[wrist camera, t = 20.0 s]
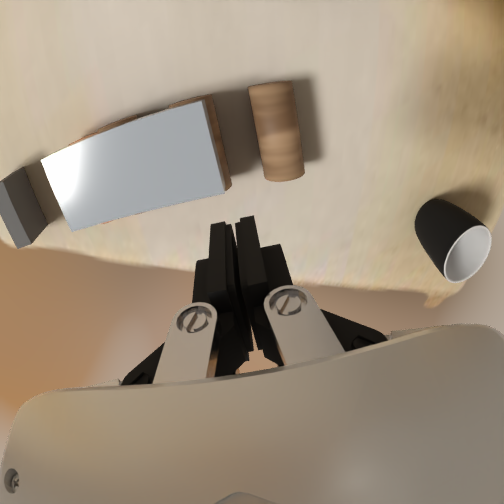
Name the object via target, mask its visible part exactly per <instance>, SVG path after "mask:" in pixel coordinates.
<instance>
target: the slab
mask: <svg viewBox="0 0 504 504" xmlns="http://www.w3.org/2000/svg"><path fill="white" fill-rule="evenodd" d="M41 162H42V164H43V167H44V170H45V172H46V175H47V177H48V180H49V182H50V185H51V187H52V189H53V192H54V194H55V196H56V199H57V201H58V203H59V206H60V208H61V210H62V212H63V214H64V217H65V219H66V221H67V223H68V225H69V227H70V229H71V231H72V232H73V231H77V230H80V229H83V228H87V227H90V226H94V225H97V224H101V223H104V222H108V221H112V220H115V219H119V218H123V217H127V216H131V215H134V214H138V213H142V212H146V211H150V210H154V209H158V208H162V207H167V206H171V205H175V204H179V203H184V202H188V201H192V200H197V199H201V198H206V197H211V196H215V195H220V194H225V186H226V185H225V181H224V177H223V173H222V169H221V165H220V161H219V157H218V152H217V148H216V144H215V140H214V136H213V132H212V128H211V124H210V120H209V116H208V112H207V108H206V104H205V100H204V99H202V100H198V101H194V102H191V103H187V104H183V105H180V106H176V107H172V108H169V109H166V110H162V111H159V112H156V113H153V114H150V115H146V116H143V117H140V118H137V119H135V120H132V121H129V122H126V123H123V124H121V125H118V126H116V127H113V128H111V129H108V130H105V131H103V132H100V133H97V134H95V135H92V136H90V137H88V138H85V139H83V140H80V141H78V142H76V143H74V144H71V145H69V146H67V147H65V148H63V149H61V150H58V151H56V152H54V153H52V154H50V155H49V156H47V157H46V158H44V159H42V160H41Z"/></svg>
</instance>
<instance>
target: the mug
mask: <svg viewBox="0 0 504 504" xmlns="http://www.w3.org/2000/svg"><path fill="white" fill-rule="evenodd" d="M415 231H416V234H417V237H418V239H419V241H420V243H421V244H422V246H423V248H424V249H425V251H426V252H427V254H428V256H429V257H430V258H431V260H432V261H433V263H434V264H435V266H436V267H437V268H438V270H439V271H440V272H441V273H442V275H443V276H444V277H445V278H446V279H447V280H448V281H449V282H452V283H459V282H462V281H465V280H467V279H468V278H470V277H471V276H473V275H474V274H475V273H476V272H477V271H478V270H479V269H480V268H481V266H482V265H483V263H484V262H485V260H486V258H487V256H488V254H489V251H490V248H491V240H492V239H491V233H490V231H489V229H488V228H487V227H486V226H485V225H484V224H483V223H482V222H480V221H479V220H478V219H476V218H475V217H474V216H472V215H471V214H469V213H468V212H466V211H465V210H463V209H461V208H460V207H458V206H456V205H454V204H452V203H450V202H447V201H444V200H439V199H435V200H431V201H429V202H427V203H425V204H424V205H423V206H422V207H421V208H420V210H419V211H418V213H417V216H416V219H415Z"/></svg>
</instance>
